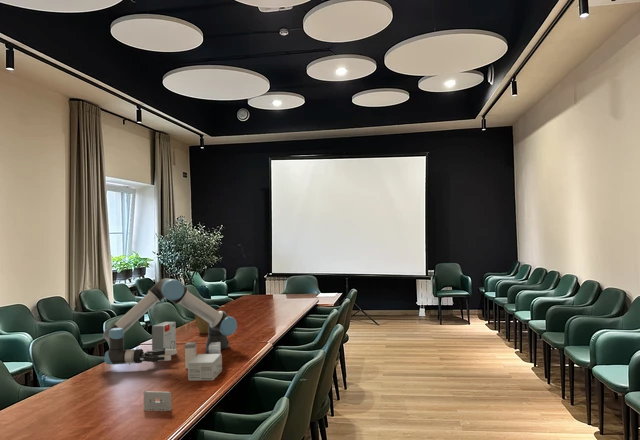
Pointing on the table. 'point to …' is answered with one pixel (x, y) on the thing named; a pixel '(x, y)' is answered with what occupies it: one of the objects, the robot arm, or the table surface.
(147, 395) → the cassette
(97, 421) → the table surface
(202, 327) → the plant pot
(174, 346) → the hard drive box
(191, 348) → the white and grey box
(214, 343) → the grey boxy device
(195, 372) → the supplement box
